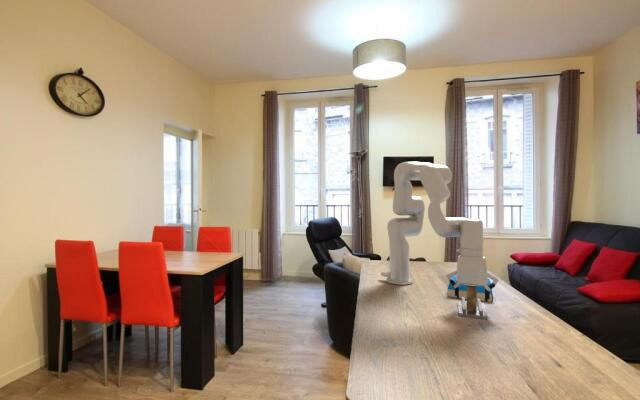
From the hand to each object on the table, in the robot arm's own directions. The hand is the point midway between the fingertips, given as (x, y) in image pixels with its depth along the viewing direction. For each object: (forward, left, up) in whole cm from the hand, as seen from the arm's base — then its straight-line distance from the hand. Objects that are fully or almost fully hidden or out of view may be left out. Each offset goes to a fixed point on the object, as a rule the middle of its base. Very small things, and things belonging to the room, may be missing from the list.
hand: (471, 299), depth 117 cm
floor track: (0, 0, -4) cm, 4 cm away
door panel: (0, 0, -3) cm, 3 cm away
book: (+1, +27, -5) cm, 27 cm away
